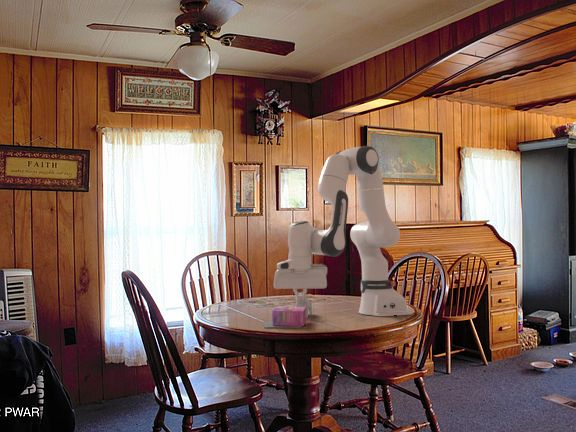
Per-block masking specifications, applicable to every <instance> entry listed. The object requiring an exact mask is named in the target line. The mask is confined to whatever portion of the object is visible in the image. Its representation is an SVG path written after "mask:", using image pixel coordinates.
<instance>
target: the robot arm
mask: <svg viewBox="0 0 576 432" xmlns="http://www.w3.org/2000/svg"><path fill="white" fill-rule="evenodd" d="M352 175H355V176H356V179H357V181H356V183H357V184H356V187H357V199H358V208H359V210H360V211H361V212H362V213H363V214H364V216H365V217H366V219H367V221H362V222H361V221H360V222H358V223H356V224H354V225H353V226H352V227H351V229H350V233H349V234H350V235H349V236H350V239H351V242H353V244H354V245H355V246H356V248H357V251H358V253H359V257H360V261H361V280H360V292H361V298H360V305H359V309H358V313H359V314H361V315H367V316H368V315H369V316H375V317H393V316H394V315H397V316H411V315H413V313H414V312H413V310H412V309H410V308H408V305H407V303H408V302H407V299H406V298H405V297H404V296H403V295H401V294H400V293H399V292H398V291H396V290H395V289H394V288H393V287H395V286H396V281H394V280H390V279H389V261H388V260H387V258H386V257H385V256H384V255H383V253H382V250H381V248H383V249H384V248H385V249H386V248H389V247H390V248H391V247H393V246H395V245H397V244H398V243H399V241H400V238H401V231H400V228H399V226H398V225H397V224H396V223H395V222H394V221H393V220H392V218H391V216H390V214H389V212H388V208H387V206H386V199H385V191H384V188H385V187H384V182H383V176H382V171H381V169H380V167H379V154H378V151H377V150H376V149H375V148H374V147H373V146H371V145H363V146H355V147H350V148H348V149H344V150H340V151H337V152H336V153H334V154H331V155H329V156H328V157H327V159H326V161H325V162H324V165H323V167H322V169H321V173H320V176H319V180H318V185H317V192H318V194H319V196H320V198H321V199H322V200H324V201H325V202H327V203H328V204H330V205H331V207H332V209H331V210H332V212H331V218H330V226H329V227H328V228H327V229H318V228H316V227H314V226H313V225H311V223H310V222H309V221H308V220H302V221H295V222H292V223H291V224H290V225H289V226H288V227H289V228H288V234H287V237H288V239H287V242H288V243H287V245H288V249H289V251H288V257H287V258H288V259H285V260H283V261H280V262H278V263H276V268H277V269H276V270H275V272H274V278H273V288H274V289H275V290H292V289H293V293H294V295H295V296H296V299H295V300H296V301H304V296H306V294H307V292H308V289H310V290H311V289H312V290H313V289H315V290H316V289H317V290H318V289H326V288H327V286H328V283H327V282H328V281H327V275H328V267H327V265H325V264H324V263H313V262H312V255H318V256H328V257H331V258H332V257H338V256H339V255H342V253H343V252H344V250H345V248H346V244H347V243H346V229H347V218H348V212H349V197H348V194H347V192H346V188H347V184H348V179H349V176H352ZM298 289H299V290H300V289H302V292H304V293H303V295H302V296H298V295H297V293H296V292H298ZM296 301H295V302H296ZM394 317H395V316H394Z"/></svg>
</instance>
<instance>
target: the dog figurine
mask: <svg viewBox="0 0 576 432" xmlns="http://www.w3.org/2000/svg"><path fill="white" fill-rule="evenodd" d="M296 293H297V295H298V296H302V295H303V293H304V291H301V292H299V291H297V292H296ZM294 301H295V307H307V319H308V318H309V316H312V315H313V303H312V300H311V299H310V298H308V296H306V295H305V296H304V301H296V295H295V300H294ZM308 315H309V316H308Z"/></svg>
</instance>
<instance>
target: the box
mask: <svg viewBox="0 0 576 432" xmlns="http://www.w3.org/2000/svg"><path fill="white" fill-rule="evenodd" d="M271 311H272V314H271V315H272V318H271V319H272V320H271V321H272V323H273V325H282V326H302V327H304V325H305V324H306V322H307V321H308V318H307V307H296V306H280V305H279V306H276V307H275V308H274V309H273V310H271Z"/></svg>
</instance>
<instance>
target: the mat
mask: <svg viewBox="0 0 576 432" xmlns="http://www.w3.org/2000/svg"><path fill="white" fill-rule="evenodd" d="M298 328H299V329H301V328H303V326H282V325H273V323H272V320H265V321H264V329H298Z"/></svg>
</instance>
